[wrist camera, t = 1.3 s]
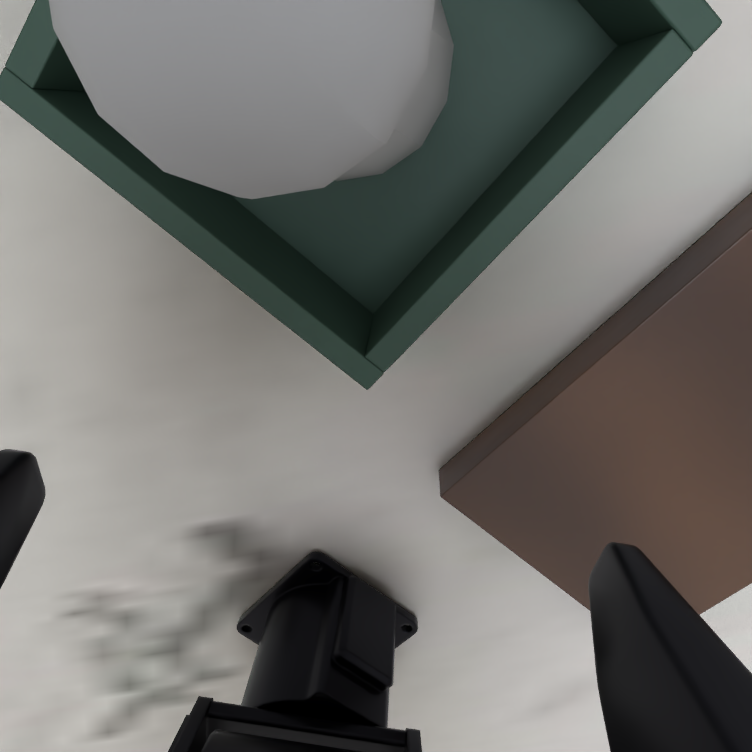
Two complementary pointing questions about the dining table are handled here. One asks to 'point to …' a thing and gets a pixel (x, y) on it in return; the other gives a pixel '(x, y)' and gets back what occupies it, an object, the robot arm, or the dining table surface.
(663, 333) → the serving board
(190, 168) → the salt shaker
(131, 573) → the dining table surface
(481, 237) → the green square tray
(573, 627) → the dining table surface
